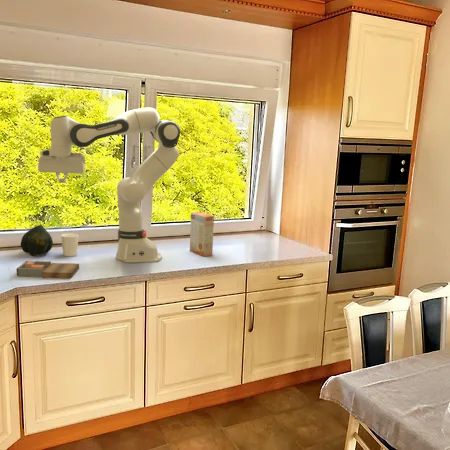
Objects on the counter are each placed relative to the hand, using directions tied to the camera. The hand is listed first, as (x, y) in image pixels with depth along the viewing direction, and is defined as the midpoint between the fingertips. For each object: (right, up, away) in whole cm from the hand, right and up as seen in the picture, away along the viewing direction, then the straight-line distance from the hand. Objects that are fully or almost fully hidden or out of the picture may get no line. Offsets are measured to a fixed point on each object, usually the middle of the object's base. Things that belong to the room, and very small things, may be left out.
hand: (62, 182), depth 221 cm
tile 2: (-6, -40, -12) cm, 42 cm away
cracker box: (+62, -34, +31) cm, 78 cm away
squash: (-18, -34, +17) cm, 42 cm away
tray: (-8, -40, -13) cm, 43 cm away
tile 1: (-8, -38, -13) cm, 41 cm away
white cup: (-2, -34, +18) cm, 39 cm away
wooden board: (+4, -40, -12) cm, 42 cm away
